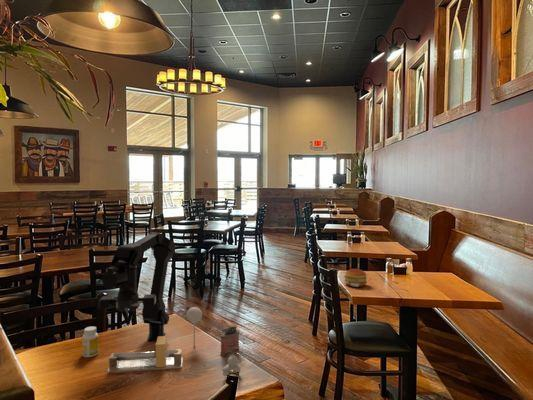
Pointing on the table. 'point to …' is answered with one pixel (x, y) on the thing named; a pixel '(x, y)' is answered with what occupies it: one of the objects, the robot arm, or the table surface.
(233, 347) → the lighter
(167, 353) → the grey piece
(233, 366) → the rubber duck
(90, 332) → the supplement bottle
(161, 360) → the tan wooden block
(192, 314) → the lollipop
